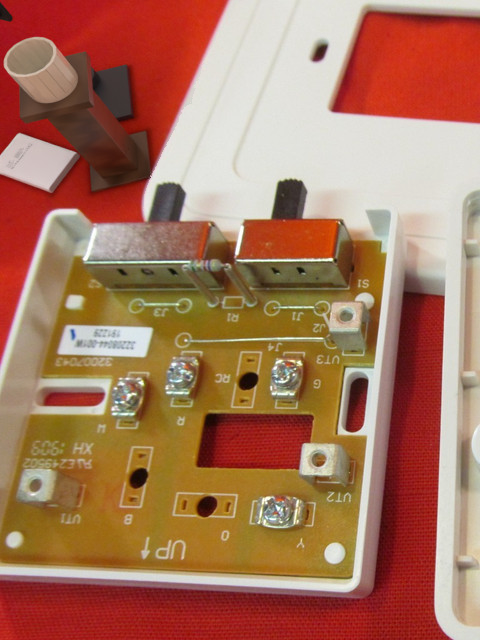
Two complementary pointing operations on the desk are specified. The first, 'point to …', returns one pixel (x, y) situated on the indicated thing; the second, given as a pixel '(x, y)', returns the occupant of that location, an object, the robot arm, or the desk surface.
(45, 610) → the desk surface
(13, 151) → the hard drive
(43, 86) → the cup
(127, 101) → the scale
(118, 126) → the stand
